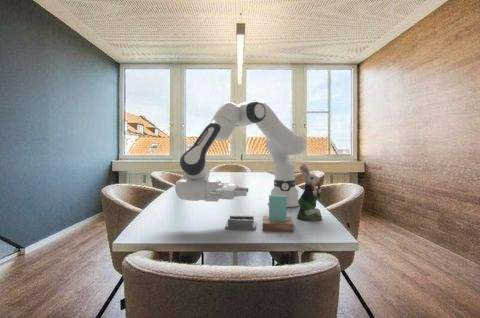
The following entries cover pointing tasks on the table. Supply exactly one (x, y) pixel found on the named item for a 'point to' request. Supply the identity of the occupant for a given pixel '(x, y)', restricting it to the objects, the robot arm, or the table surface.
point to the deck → (277, 225)
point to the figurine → (309, 197)
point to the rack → (241, 222)
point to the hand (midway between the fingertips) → (247, 191)
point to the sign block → (277, 207)
